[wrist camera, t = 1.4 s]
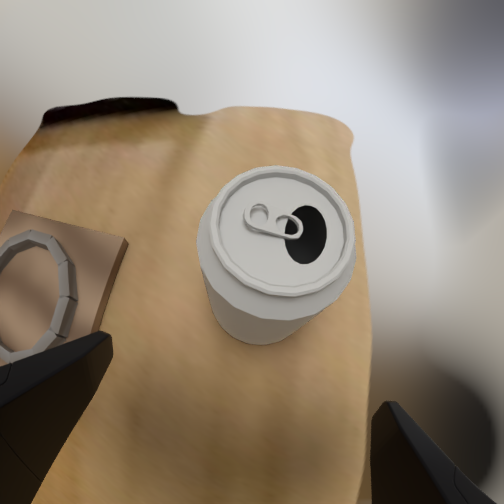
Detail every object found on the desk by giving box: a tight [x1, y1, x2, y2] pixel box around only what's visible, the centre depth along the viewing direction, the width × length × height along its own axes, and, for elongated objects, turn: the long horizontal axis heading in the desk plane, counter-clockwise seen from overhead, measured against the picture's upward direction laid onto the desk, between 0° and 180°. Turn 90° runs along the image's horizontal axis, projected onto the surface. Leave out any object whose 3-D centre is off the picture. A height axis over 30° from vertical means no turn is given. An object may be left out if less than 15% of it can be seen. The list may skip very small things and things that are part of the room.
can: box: [196, 165, 356, 345], centre depth 17 cm, size 8×8×12 cm
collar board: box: [0, 210, 128, 366], centre depth 19 cm, size 16×16×3 cm
